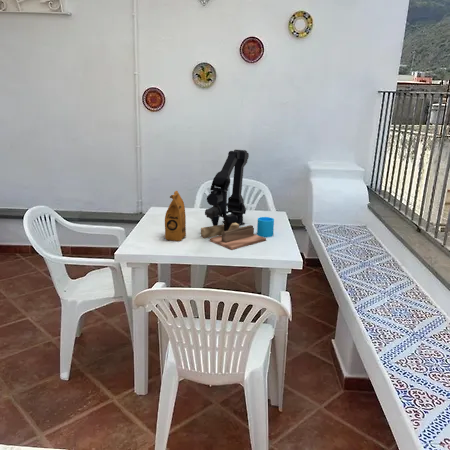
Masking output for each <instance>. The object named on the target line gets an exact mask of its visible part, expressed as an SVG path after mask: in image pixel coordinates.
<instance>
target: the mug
mask: <svg viewBox="0 0 450 450" xmlns="http://www.w3.org/2000/svg"><path fill="white" fill-rule="evenodd" d="M256 225H257V227H256V228H257V229H256V231H257V232H256V235H258V236H261V237H264V238H271V237H274V230H275V229H274V227H275V226H274V225H275V219H274V218H273V217H270V216H259V217H257V224H256Z"/></svg>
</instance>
